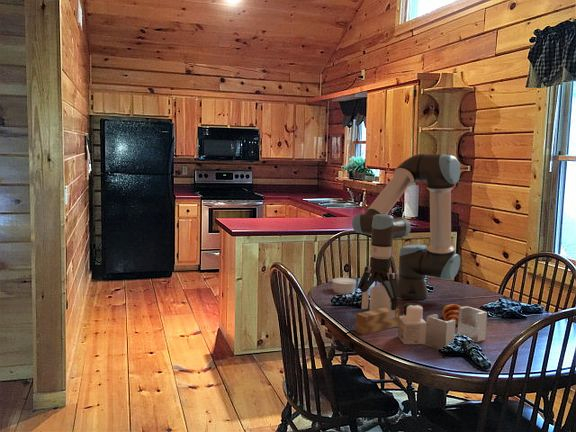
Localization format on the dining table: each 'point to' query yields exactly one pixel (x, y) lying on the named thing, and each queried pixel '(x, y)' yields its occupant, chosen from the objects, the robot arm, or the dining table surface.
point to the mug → (378, 298)
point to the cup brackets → (444, 331)
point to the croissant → (451, 312)
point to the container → (412, 325)
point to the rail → (375, 320)
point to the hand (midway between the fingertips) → (377, 313)
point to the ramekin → (343, 285)
